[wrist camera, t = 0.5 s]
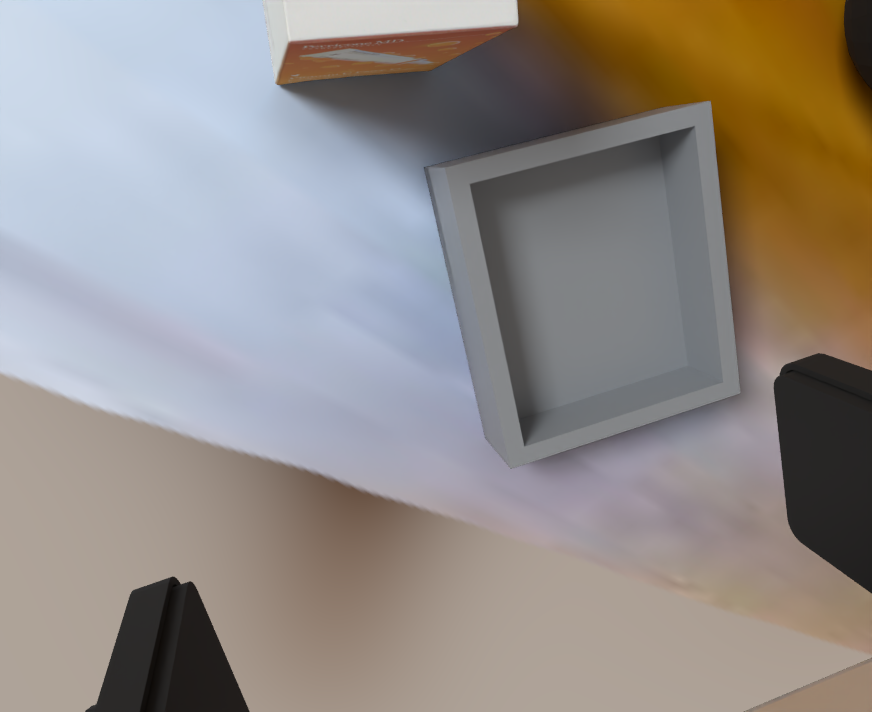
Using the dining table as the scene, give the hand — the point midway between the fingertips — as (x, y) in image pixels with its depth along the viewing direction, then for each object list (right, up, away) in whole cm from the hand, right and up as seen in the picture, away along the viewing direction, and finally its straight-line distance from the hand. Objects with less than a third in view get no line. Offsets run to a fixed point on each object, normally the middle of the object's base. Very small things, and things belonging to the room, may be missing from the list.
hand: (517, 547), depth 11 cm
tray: (+7, +7, +30) cm, 32 cm away
